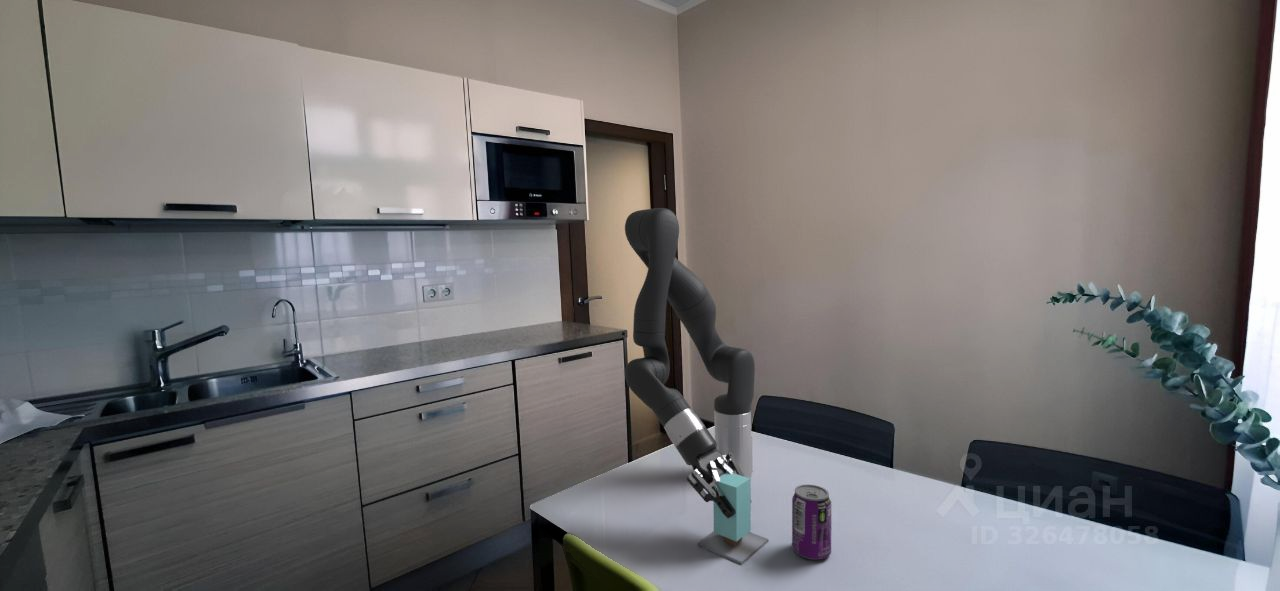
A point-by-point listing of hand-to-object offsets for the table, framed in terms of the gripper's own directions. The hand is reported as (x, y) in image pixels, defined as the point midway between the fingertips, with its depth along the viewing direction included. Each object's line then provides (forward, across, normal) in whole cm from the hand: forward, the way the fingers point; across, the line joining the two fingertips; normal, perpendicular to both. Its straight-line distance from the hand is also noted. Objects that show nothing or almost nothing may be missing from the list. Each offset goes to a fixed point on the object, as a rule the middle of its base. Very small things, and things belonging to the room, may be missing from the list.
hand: (740, 509), depth 102 cm
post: (+4, 0, +7) cm, 8 cm away
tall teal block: (+2, 0, +5) cm, 5 cm away
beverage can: (+13, +7, -3) cm, 15 cm away
